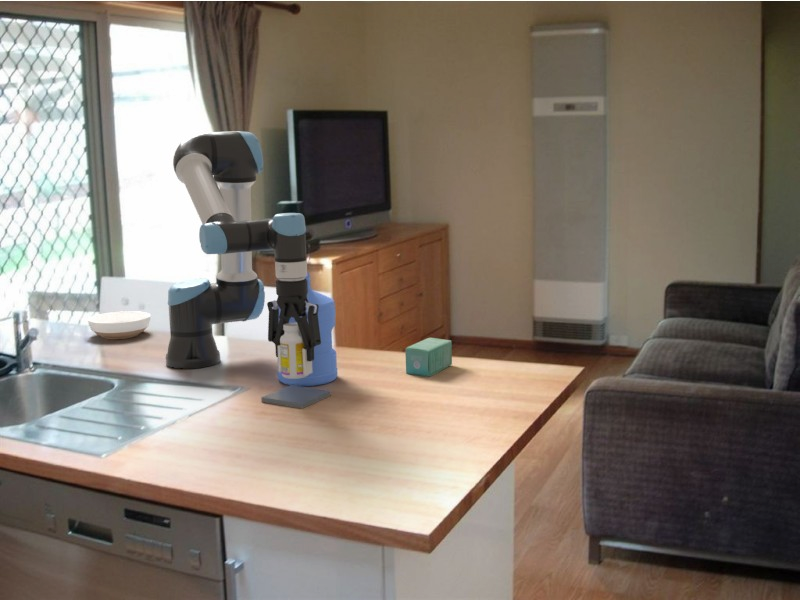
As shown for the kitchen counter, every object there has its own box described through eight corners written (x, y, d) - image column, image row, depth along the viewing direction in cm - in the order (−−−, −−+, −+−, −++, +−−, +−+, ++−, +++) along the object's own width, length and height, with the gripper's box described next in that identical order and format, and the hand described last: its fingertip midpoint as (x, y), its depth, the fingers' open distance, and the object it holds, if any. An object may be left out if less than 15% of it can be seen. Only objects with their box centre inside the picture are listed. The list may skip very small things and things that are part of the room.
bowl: (77, 341, 288) (76, 322, 287) (107, 328, 307) (105, 310, 306) (135, 342, 285) (134, 323, 283) (161, 329, 304) (160, 311, 302)
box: (404, 374, 242) (404, 346, 240) (429, 363, 253) (428, 336, 252) (428, 377, 238) (428, 350, 237) (452, 366, 250) (452, 339, 248)
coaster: (261, 401, 219) (261, 397, 218) (291, 389, 229) (291, 384, 229) (301, 408, 213) (301, 403, 213) (330, 395, 223) (330, 390, 223)
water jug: (305, 390, 227) (301, 281, 222) (265, 380, 238) (260, 275, 233) (350, 377, 239) (346, 273, 234) (310, 368, 249) (306, 267, 244)
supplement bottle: (311, 372, 222) (309, 321, 220) (306, 379, 216) (304, 327, 214) (284, 372, 223) (282, 321, 221) (278, 379, 217) (276, 327, 214)
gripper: (249, 278, 217) (253, 371, 221) (316, 283, 207) (319, 380, 211) (268, 273, 223) (272, 364, 228) (334, 278, 214) (337, 373, 218)
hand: (295, 372), depth 219 cm, fingers closed on supplement bottle, 7 cm apart
